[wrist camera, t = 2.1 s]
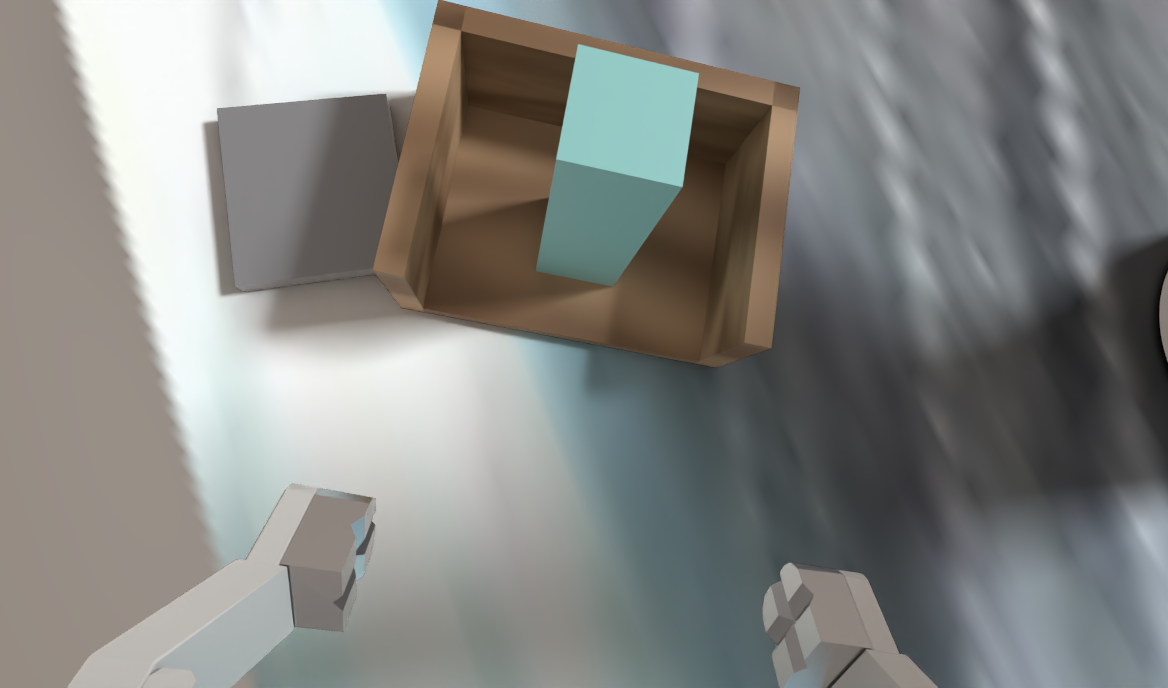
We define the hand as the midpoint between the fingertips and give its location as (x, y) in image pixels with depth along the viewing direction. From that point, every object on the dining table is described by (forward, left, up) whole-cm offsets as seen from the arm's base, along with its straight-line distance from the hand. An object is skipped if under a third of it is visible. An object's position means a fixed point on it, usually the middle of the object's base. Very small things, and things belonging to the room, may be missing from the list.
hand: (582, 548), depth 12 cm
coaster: (+8, -16, -18) cm, 25 cm away
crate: (-4, -12, -18) cm, 22 cm away
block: (-4, -12, -17) cm, 21 cm away
